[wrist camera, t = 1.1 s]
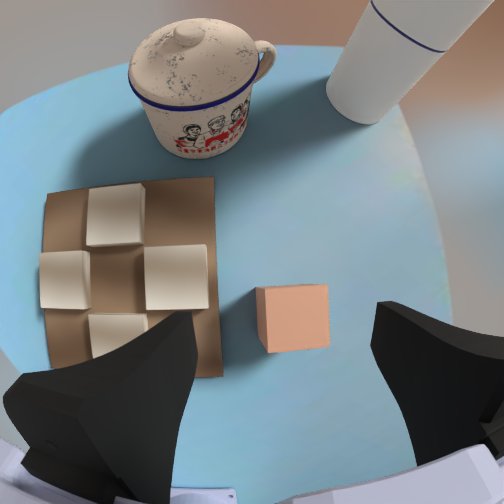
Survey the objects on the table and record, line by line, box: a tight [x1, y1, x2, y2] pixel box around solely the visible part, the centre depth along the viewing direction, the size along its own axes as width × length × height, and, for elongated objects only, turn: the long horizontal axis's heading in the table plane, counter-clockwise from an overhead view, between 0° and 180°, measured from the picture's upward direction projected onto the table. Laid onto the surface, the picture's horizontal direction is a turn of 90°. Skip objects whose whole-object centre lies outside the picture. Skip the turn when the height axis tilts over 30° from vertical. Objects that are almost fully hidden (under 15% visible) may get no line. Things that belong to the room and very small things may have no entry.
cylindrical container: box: [326, 0, 494, 124], centre depth 14 cm, size 7×7×25 cm
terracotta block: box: [255, 284, 330, 353], centre depth 20 cm, size 4×4×6 cm
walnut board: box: [39, 177, 223, 377], centre depth 21 cm, size 16×16×2 cm
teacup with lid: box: [128, 18, 277, 159], centre depth 19 cm, size 12×9×12 cm
